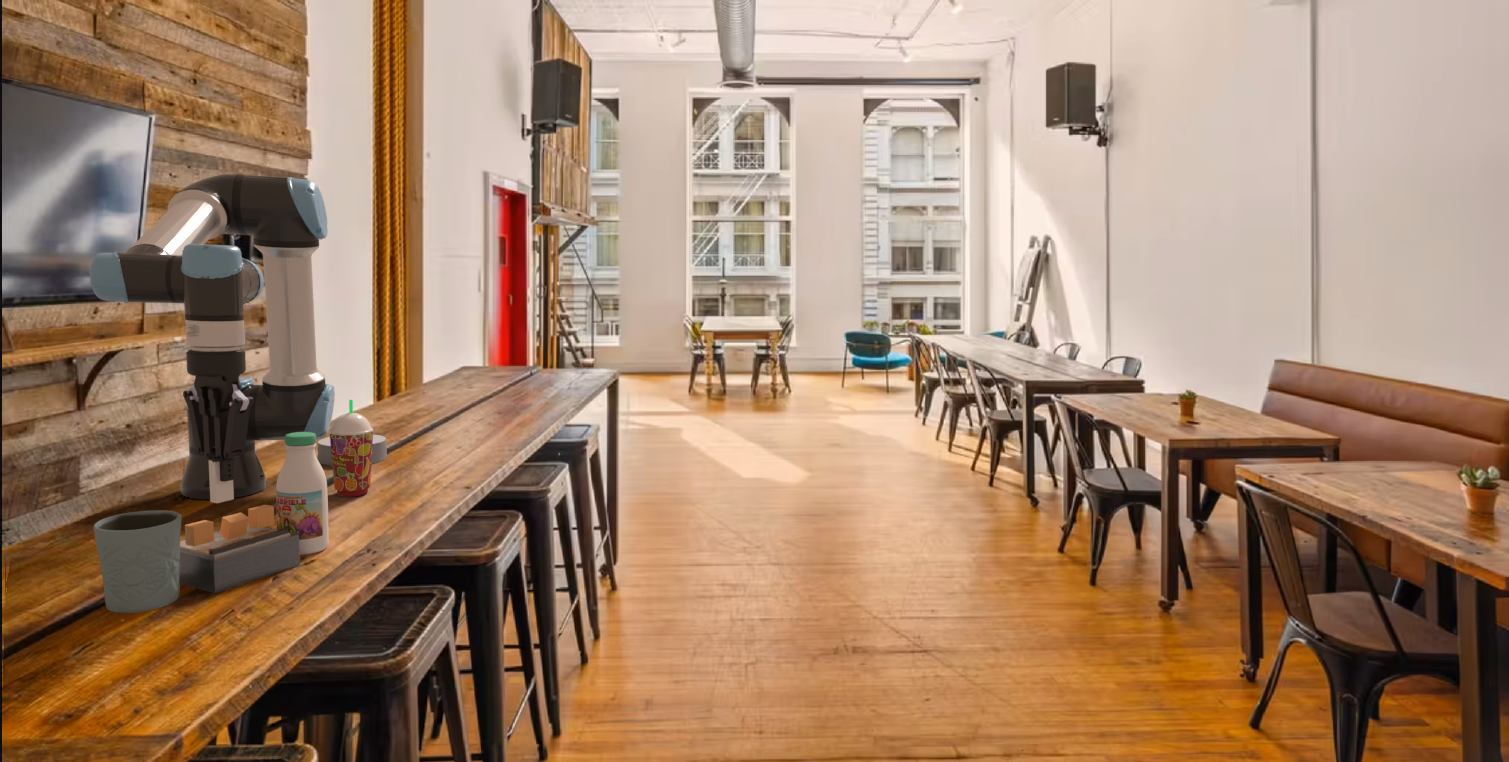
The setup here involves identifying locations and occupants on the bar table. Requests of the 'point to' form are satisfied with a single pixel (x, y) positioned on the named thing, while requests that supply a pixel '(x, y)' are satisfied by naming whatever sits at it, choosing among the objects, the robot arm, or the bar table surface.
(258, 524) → the tan wooden block
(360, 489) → the smoothie
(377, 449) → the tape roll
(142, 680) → the bar table surface
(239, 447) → the robot arm
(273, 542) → the gray rectangular tray
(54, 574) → the bar table surface
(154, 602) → the gray green pot
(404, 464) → the bar table surface
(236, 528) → the small orange block
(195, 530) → the orange tall rectangular block
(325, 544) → the milk bottle
